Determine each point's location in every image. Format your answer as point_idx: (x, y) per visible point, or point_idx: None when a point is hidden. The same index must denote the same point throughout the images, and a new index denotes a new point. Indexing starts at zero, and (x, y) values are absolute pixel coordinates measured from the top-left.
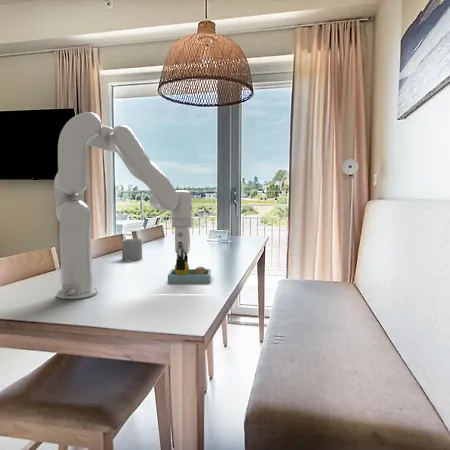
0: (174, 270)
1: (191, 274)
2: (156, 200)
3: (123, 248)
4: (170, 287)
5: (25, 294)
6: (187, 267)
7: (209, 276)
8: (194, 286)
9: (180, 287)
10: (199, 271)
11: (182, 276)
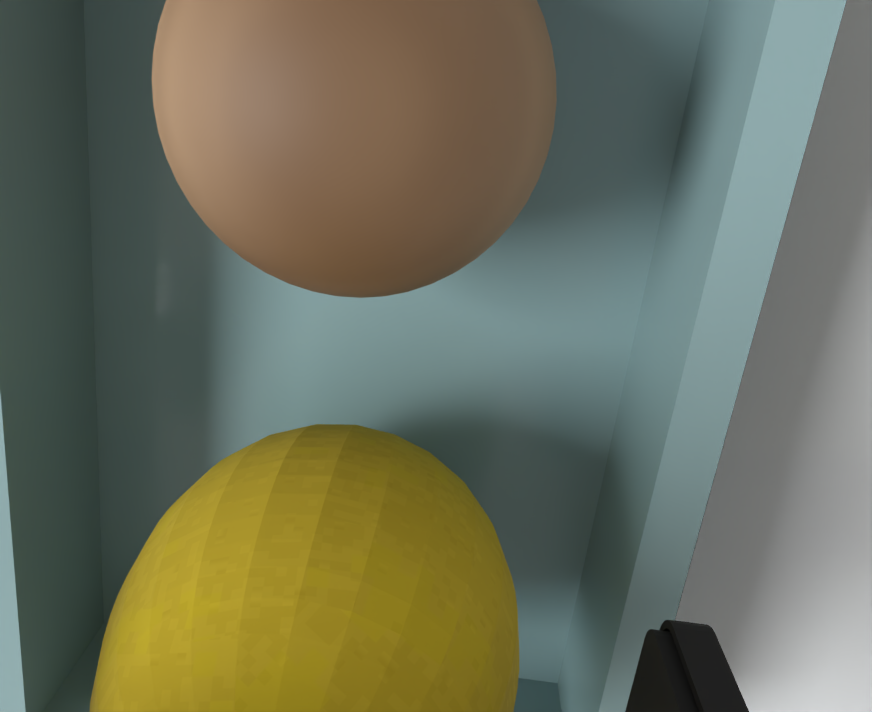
0: (40, 701)
1: (69, 307)
2: None
3: None
4: (797, 662)
5: None
6: (431, 549)
7: None
8: (856, 260)
9: (850, 515)
10: (532, 149)
11: (676, 568)
